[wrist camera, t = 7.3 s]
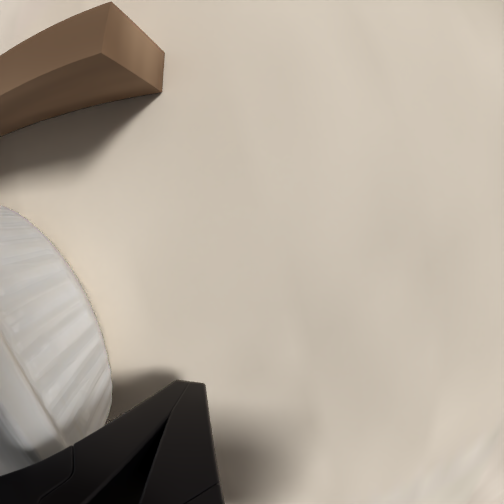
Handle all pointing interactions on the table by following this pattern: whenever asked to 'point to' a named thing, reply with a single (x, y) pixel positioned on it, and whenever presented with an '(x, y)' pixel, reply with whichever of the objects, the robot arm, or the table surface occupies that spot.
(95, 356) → the ramekin
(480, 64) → the table surface
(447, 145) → the table surface
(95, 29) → the walnut dock
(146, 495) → the robot arm
